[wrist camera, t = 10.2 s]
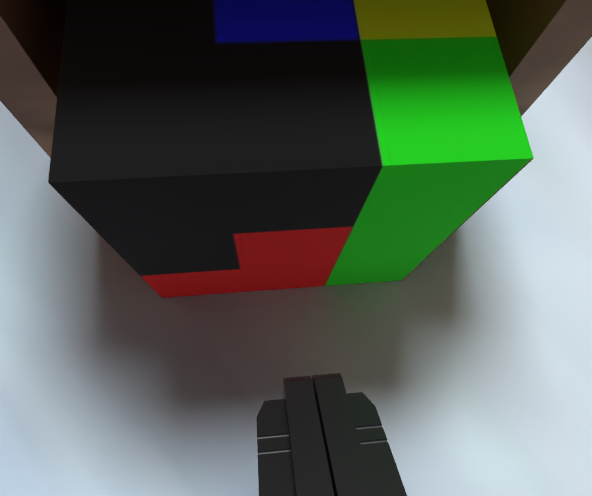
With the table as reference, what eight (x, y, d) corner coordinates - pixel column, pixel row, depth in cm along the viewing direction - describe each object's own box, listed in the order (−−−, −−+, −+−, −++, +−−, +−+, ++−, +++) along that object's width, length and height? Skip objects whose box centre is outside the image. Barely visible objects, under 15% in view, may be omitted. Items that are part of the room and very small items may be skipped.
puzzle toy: (164, 95, 21) (83, -150, 12) (367, 88, 22) (441, -145, 13) (162, 298, 18) (48, 182, 9) (401, 280, 19) (533, 158, 10)
